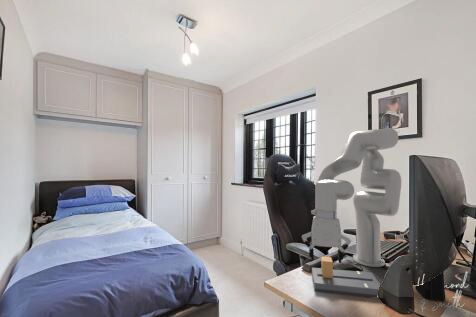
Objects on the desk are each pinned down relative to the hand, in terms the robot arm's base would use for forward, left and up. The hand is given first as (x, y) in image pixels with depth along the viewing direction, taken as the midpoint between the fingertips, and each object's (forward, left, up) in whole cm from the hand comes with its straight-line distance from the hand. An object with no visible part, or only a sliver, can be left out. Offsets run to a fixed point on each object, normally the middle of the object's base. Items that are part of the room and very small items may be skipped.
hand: (325, 260), depth 87 cm
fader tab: (-1, 0, -8) cm, 8 cm away
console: (-1, +6, -9) cm, 11 cm away
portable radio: (0, +33, -9) cm, 35 cm away
